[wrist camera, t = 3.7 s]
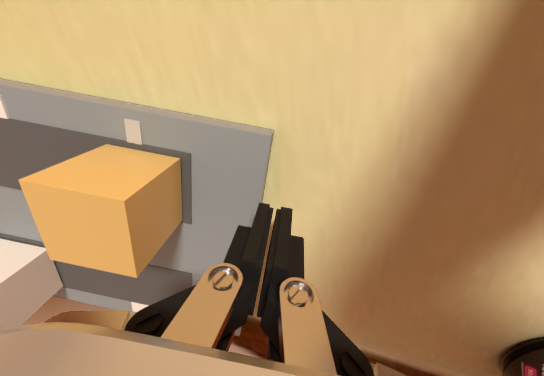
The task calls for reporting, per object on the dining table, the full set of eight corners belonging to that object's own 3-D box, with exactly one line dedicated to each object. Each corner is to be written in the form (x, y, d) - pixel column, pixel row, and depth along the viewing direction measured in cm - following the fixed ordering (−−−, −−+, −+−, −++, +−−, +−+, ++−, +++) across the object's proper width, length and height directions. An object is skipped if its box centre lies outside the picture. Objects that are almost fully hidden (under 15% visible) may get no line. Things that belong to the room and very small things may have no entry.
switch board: (274, 130, 12) (271, 136, 11) (242, 322, 21) (239, 337, 19) (-131, 53, 13) (-173, 52, 12) (-8, 268, 21) (-26, 280, 20)
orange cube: (180, 158, 12) (123, 201, 8) (182, 219, 14) (137, 277, 10) (106, 143, 12) (18, 180, 9) (118, 206, 14) (49, 259, 10)
